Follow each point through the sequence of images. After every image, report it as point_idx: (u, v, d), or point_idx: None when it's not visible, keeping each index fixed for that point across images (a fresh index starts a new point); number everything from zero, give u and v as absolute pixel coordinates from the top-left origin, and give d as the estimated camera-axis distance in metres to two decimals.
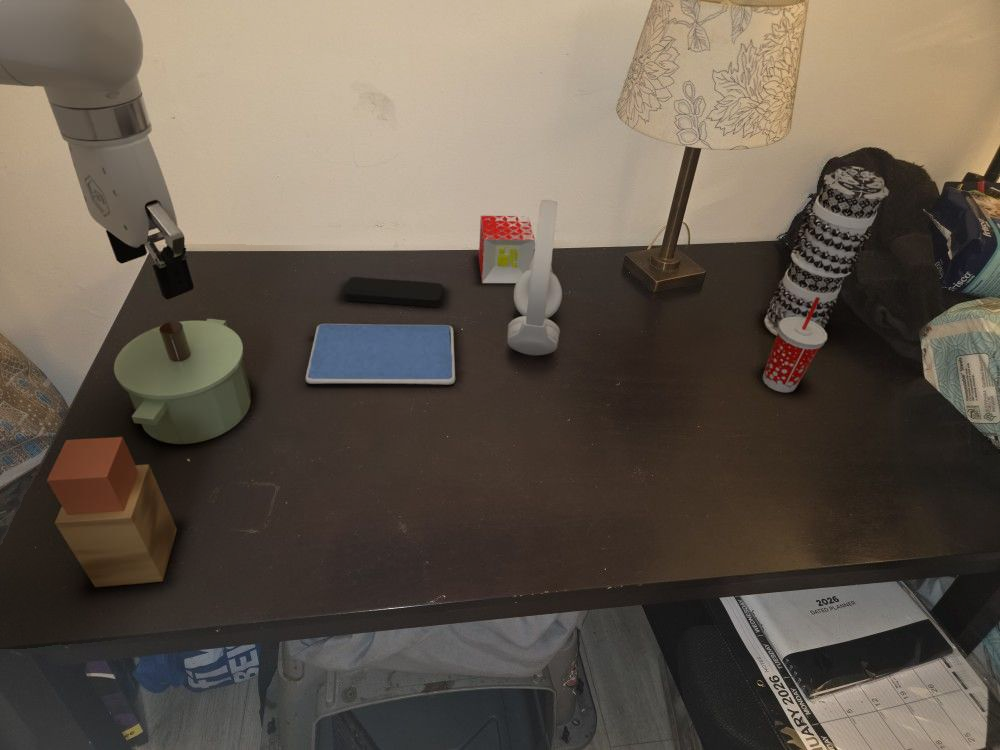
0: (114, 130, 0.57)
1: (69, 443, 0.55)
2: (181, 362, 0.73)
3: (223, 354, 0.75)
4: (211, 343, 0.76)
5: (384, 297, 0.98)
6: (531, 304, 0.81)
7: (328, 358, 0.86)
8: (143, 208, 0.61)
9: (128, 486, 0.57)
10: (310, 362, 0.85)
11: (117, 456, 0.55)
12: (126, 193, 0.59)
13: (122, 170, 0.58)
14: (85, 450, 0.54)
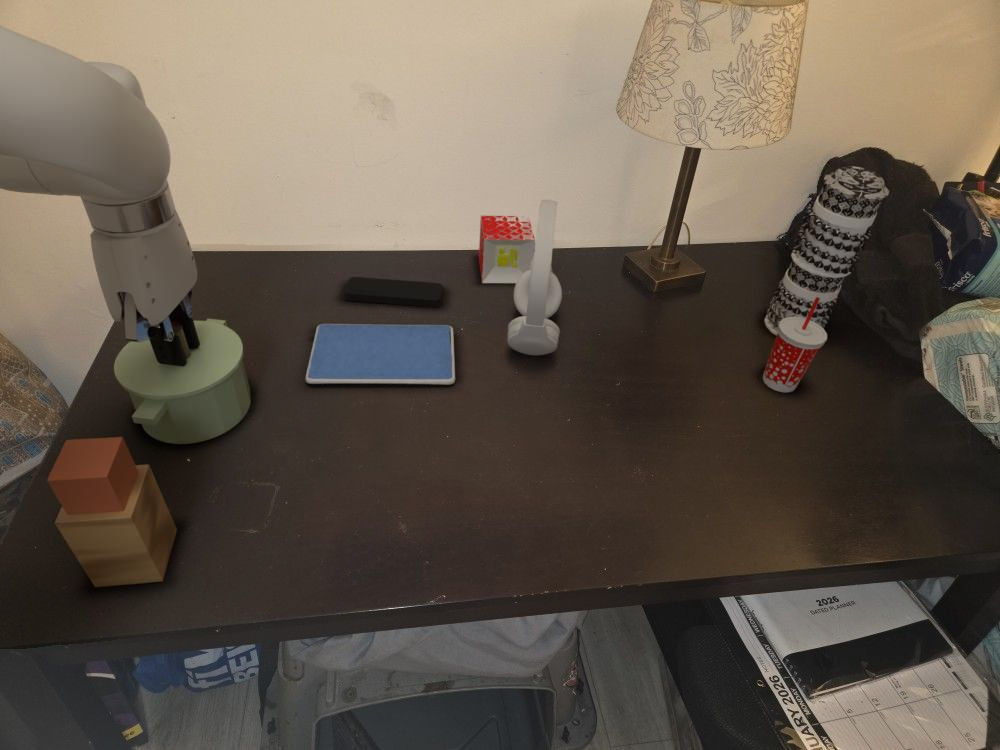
0: (101, 223, 0.59)
1: (69, 443, 0.55)
2: None
3: (223, 354, 0.75)
4: (211, 343, 0.76)
5: (384, 297, 0.98)
6: (531, 304, 0.81)
7: (328, 358, 0.86)
8: (115, 294, 0.63)
9: (128, 486, 0.57)
10: (310, 362, 0.85)
11: (117, 456, 0.55)
12: (101, 277, 0.62)
13: (98, 258, 0.61)
14: (85, 450, 0.54)
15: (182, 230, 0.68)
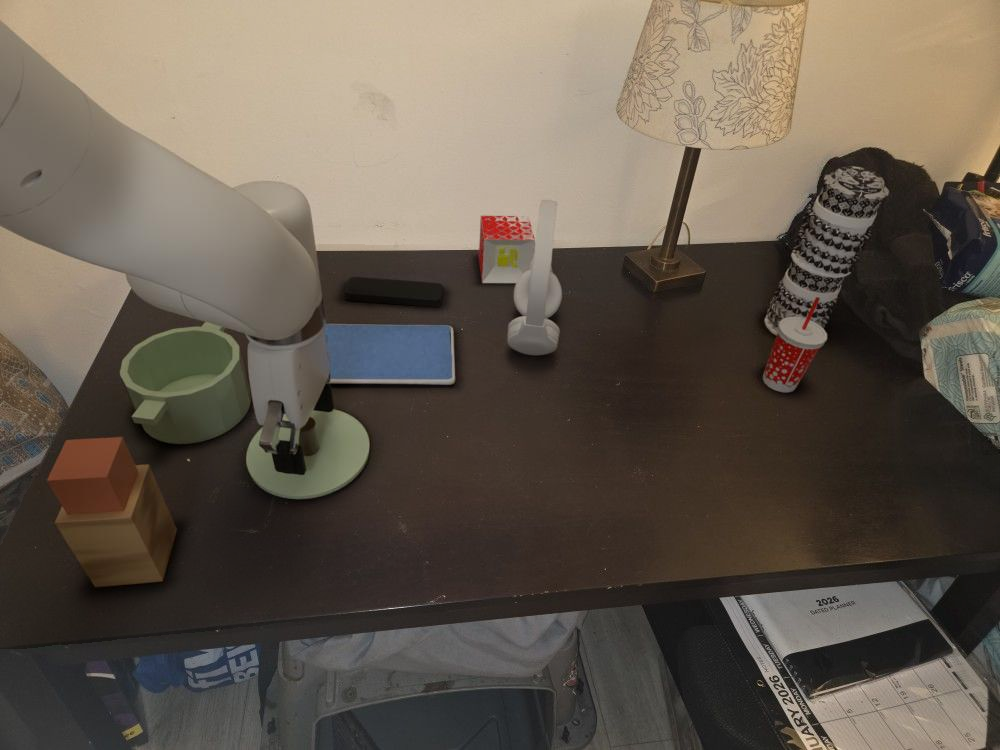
0: (261, 337, 0.59)
1: (69, 443, 0.55)
2: (312, 456, 0.73)
3: (351, 446, 0.75)
4: (337, 434, 0.76)
5: (384, 297, 0.98)
6: (531, 304, 0.81)
7: None
8: (266, 402, 0.62)
9: (128, 486, 0.57)
10: None
11: (117, 456, 0.55)
12: (254, 386, 0.61)
13: (254, 369, 0.60)
14: (85, 450, 0.54)
15: None
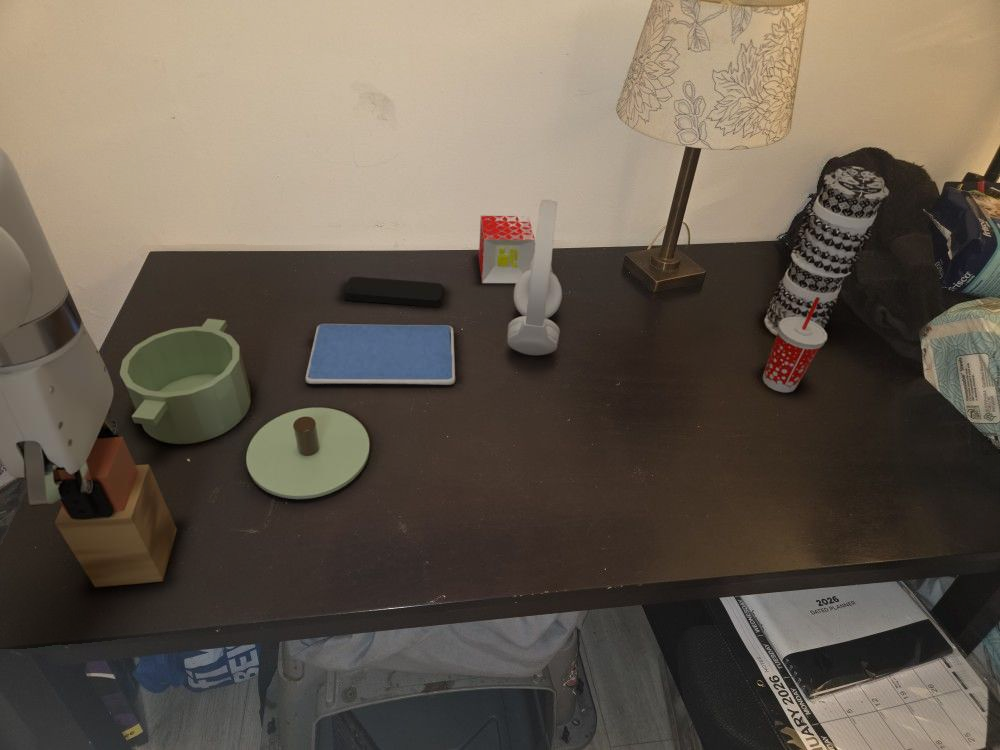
0: None
1: None
2: (312, 456, 0.73)
3: (351, 446, 0.75)
4: (337, 434, 0.76)
5: (384, 297, 0.98)
6: (531, 304, 0.81)
7: (328, 358, 0.86)
8: (13, 446, 0.46)
9: (128, 486, 0.57)
10: (310, 362, 0.85)
11: (117, 456, 0.55)
12: None
13: None
14: None
15: (88, 338, 0.51)
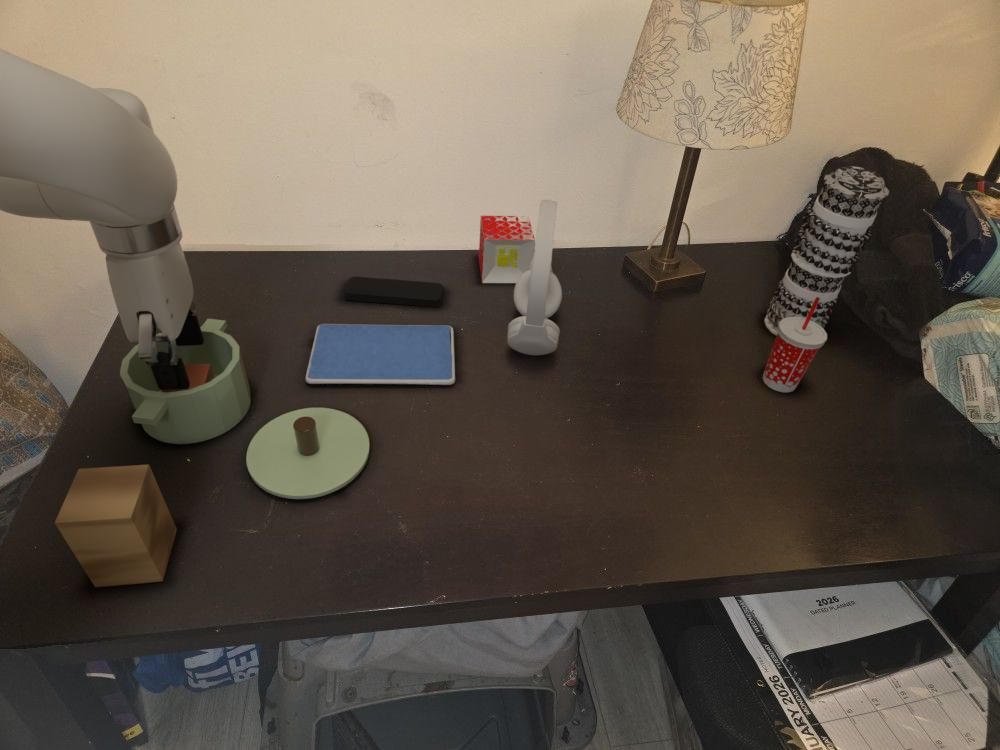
0: (118, 246, 0.61)
1: None
2: (312, 456, 0.73)
3: (351, 446, 0.75)
4: (337, 434, 0.76)
5: (384, 297, 0.98)
6: (531, 304, 0.81)
7: (328, 358, 0.86)
8: (134, 315, 0.64)
9: None
10: (310, 362, 0.85)
11: (207, 376, 0.77)
12: (119, 299, 0.63)
13: (117, 280, 0.62)
14: None
15: (180, 246, 0.69)
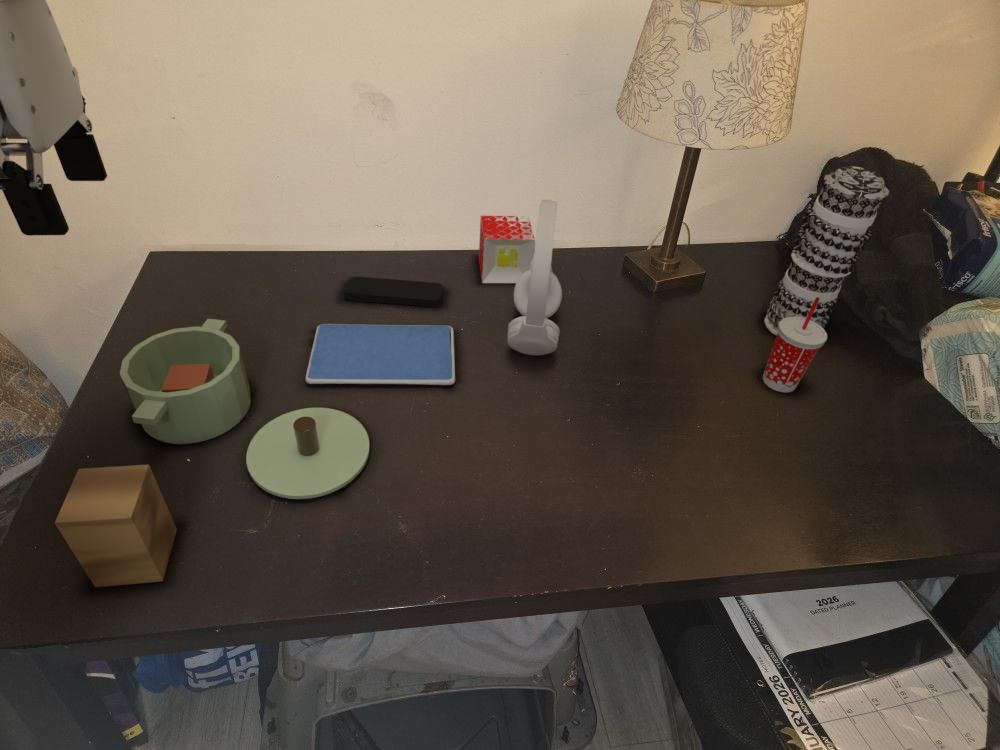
0: None
1: (173, 367, 0.77)
2: (312, 456, 0.73)
3: (351, 446, 0.75)
4: (337, 434, 0.76)
5: (384, 297, 0.98)
6: (531, 304, 0.81)
7: (328, 358, 0.86)
8: None
9: None
10: (310, 362, 0.85)
11: (207, 376, 0.77)
12: None
13: None
14: (185, 372, 0.77)
15: (55, 24, 0.49)
